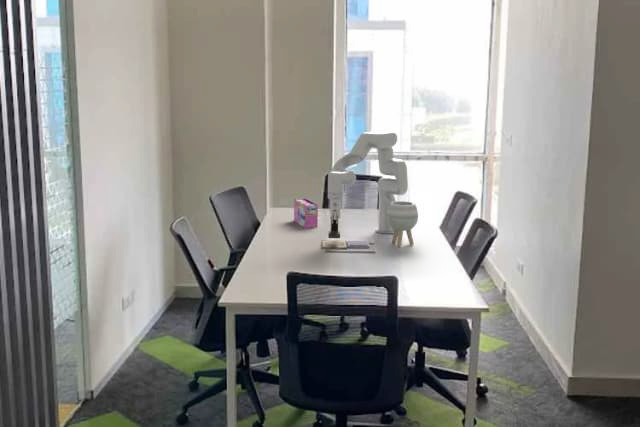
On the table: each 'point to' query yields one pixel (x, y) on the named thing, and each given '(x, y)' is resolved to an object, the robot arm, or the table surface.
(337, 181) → the robot arm
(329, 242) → the marked board
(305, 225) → the gum box
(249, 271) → the table surface
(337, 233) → the stamp
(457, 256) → the table surface
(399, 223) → the planter
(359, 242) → the ink pad
